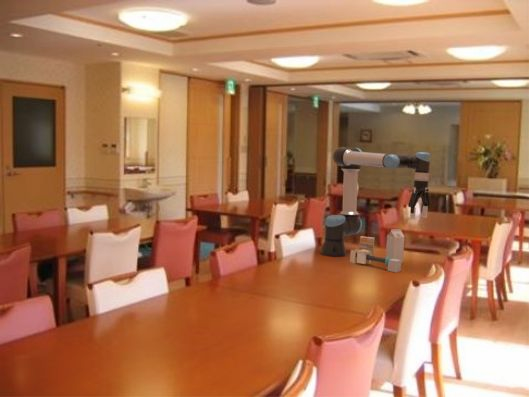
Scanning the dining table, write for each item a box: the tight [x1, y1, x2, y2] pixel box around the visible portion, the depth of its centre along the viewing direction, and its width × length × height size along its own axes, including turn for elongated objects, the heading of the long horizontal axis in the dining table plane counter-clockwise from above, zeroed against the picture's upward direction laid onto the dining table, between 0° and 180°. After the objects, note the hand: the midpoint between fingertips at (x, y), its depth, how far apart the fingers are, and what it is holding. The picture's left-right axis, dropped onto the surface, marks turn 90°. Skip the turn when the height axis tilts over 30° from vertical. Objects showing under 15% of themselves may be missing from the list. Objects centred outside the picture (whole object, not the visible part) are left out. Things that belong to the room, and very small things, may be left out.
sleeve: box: [356, 249, 372, 265], centre depth 317 cm, size 5×6×7 cm
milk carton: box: [385, 228, 405, 263], centre depth 328 cm, size 7×7×19 cm
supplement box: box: [358, 235, 376, 256], centre depth 332 cm, size 8×5×13 cm, turn 73°
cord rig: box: [349, 249, 402, 273], centre depth 312 cm, size 30×5×7 cm, turn 46°
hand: (418, 218), depth 316 cm, fingers open, 13 cm apart
